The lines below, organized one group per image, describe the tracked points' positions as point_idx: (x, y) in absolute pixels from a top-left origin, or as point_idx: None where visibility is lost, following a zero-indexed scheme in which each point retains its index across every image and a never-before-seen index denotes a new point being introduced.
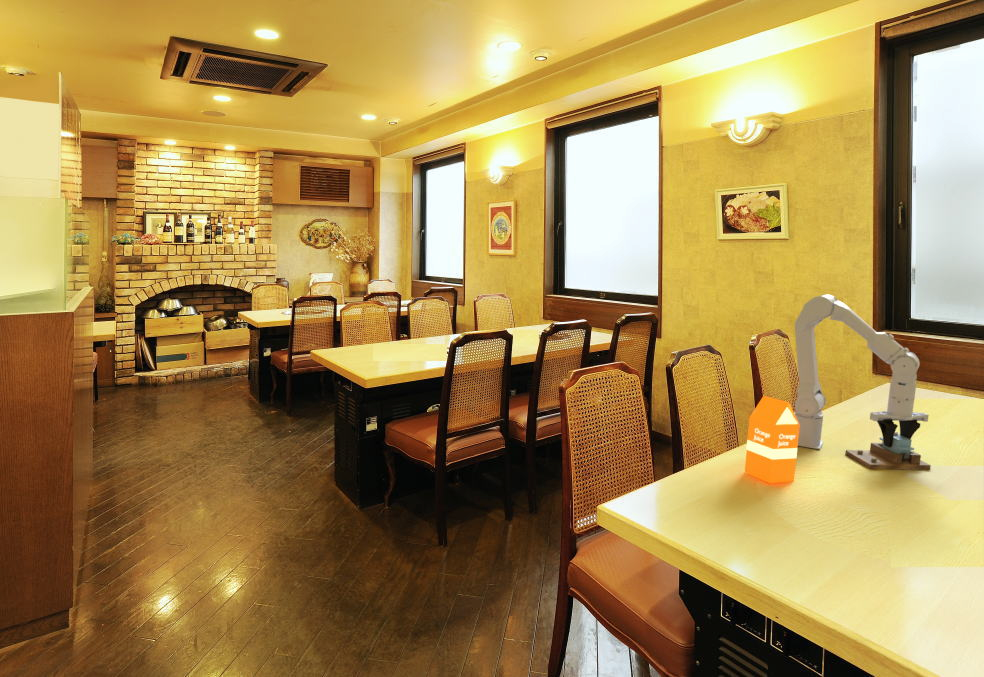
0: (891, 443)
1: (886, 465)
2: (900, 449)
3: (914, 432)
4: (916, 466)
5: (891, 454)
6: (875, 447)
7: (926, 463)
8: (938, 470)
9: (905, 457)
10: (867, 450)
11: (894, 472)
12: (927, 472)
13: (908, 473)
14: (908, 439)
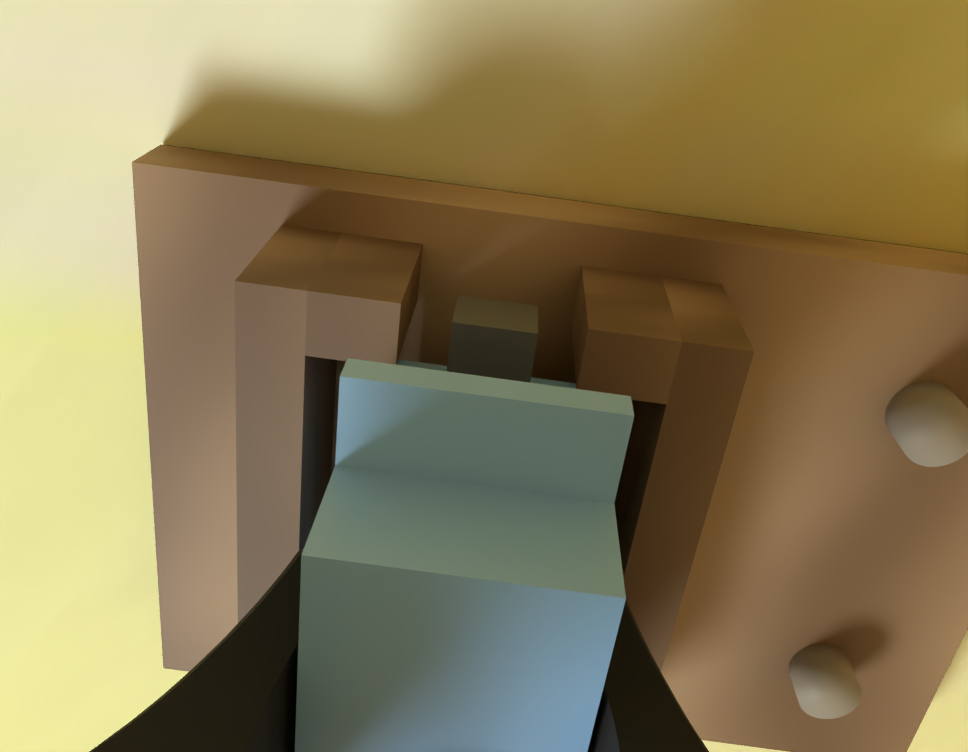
0: None
1: (862, 255)
2: (629, 401)
3: (109, 745)
4: (371, 185)
5: (737, 398)
6: None
7: (151, 236)
8: (52, 96)
9: (518, 307)
10: None
11: (837, 97)
12: (290, 36)
13: (643, 29)
14: (345, 593)
